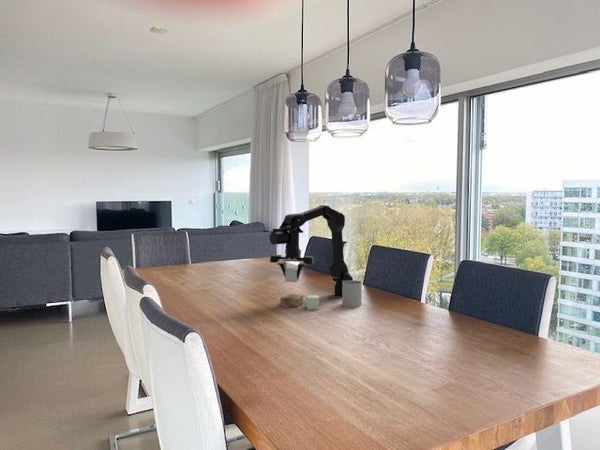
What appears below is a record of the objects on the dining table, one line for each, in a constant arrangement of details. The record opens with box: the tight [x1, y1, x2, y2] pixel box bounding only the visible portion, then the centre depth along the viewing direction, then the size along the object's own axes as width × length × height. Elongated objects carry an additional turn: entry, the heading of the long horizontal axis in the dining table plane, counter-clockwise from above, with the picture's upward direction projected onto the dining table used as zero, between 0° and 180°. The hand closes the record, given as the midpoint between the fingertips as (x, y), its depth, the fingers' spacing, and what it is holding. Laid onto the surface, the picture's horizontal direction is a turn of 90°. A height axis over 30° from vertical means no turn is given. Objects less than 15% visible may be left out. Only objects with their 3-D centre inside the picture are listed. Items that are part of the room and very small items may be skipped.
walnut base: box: [279, 293, 304, 308], centre depth 206 cm, size 8×8×4 cm
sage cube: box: [306, 294, 320, 310], centre depth 201 cm, size 5×5×5 cm
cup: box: [341, 279, 363, 308], centre depth 206 cm, size 8×8×10 cm
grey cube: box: [284, 268, 300, 283], centre depth 206 cm, size 5×5×5 cm
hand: (291, 278), depth 206 cm, fingers closed on grey cube, 5 cm apart
